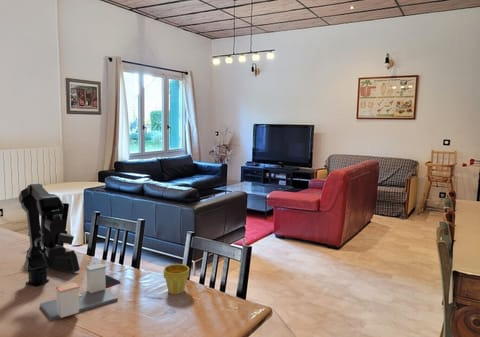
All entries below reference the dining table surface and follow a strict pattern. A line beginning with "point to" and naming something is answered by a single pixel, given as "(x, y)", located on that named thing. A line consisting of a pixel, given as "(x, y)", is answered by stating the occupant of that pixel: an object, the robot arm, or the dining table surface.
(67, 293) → the white box tan lid
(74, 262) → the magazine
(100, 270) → the grey rectangular block
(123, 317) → the dining table surface
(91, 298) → the grey flat board
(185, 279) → the plant pot
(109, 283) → the smartphone
